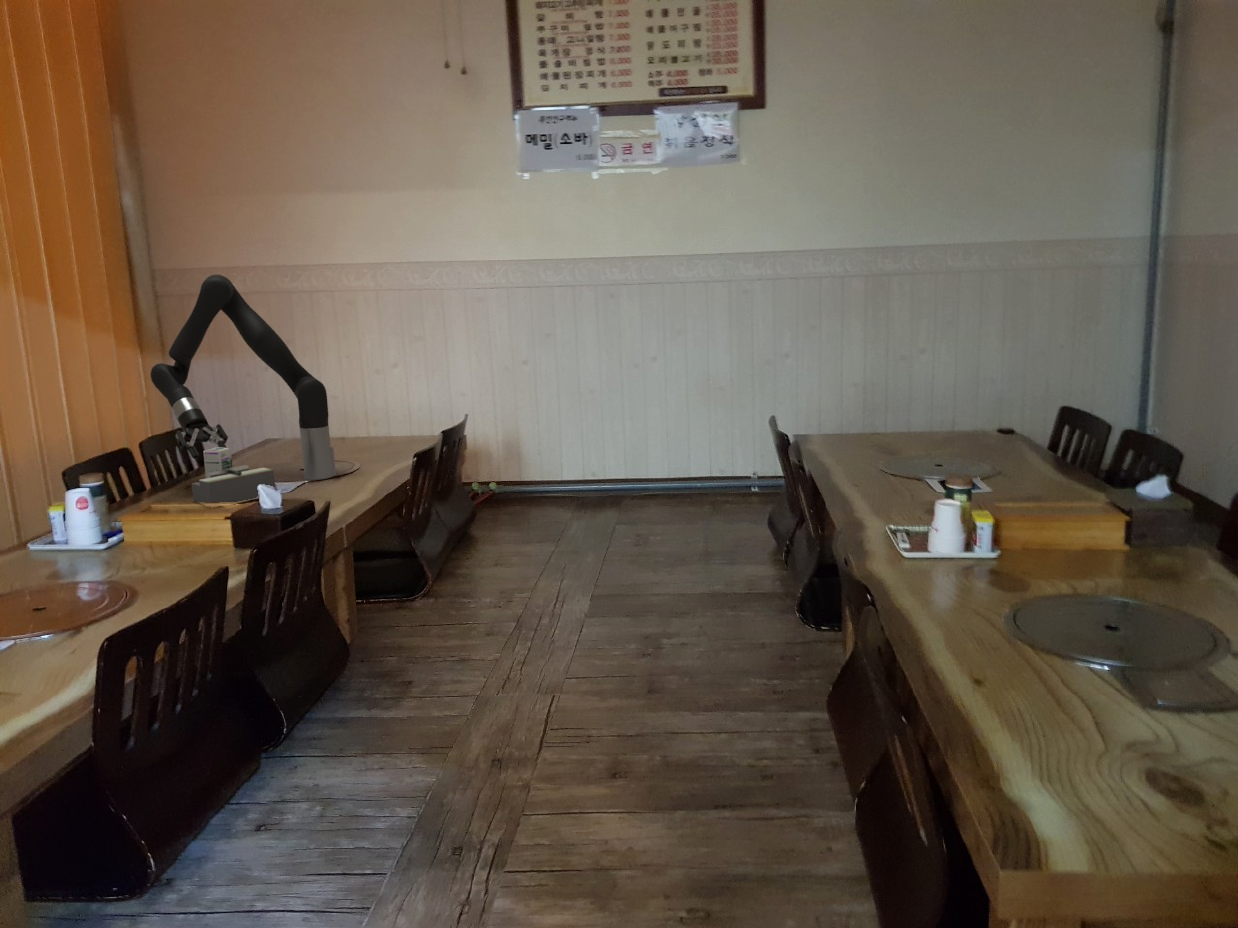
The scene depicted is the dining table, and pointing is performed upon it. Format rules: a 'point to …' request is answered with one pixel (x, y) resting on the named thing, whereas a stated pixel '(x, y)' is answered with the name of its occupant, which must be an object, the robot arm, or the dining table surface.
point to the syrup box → (217, 459)
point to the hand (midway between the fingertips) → (211, 455)
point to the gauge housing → (232, 486)
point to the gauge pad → (228, 471)
